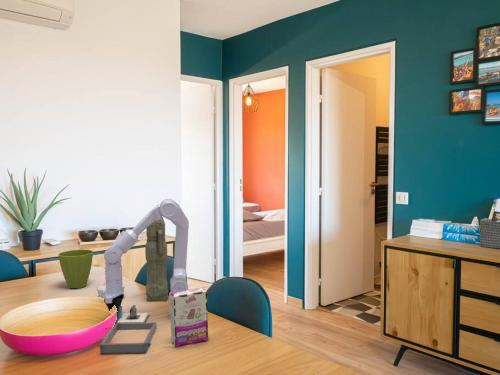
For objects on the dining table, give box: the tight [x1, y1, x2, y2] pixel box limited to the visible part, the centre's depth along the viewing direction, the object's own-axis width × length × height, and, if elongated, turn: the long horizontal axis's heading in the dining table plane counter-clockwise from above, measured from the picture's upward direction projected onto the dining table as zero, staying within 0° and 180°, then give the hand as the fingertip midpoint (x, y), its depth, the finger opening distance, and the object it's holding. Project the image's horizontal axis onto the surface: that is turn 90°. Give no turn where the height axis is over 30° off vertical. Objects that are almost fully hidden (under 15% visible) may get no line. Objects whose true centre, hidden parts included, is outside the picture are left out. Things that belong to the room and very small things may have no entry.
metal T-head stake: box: [129, 304, 138, 320], centre depth 153 cm, size 2×4×5 cm, turn 2°
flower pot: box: [57, 249, 94, 289], centre depth 198 cm, size 15×15×16 cm
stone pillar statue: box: [144, 216, 169, 303], centre depth 177 cm, size 9×12×35 cm
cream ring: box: [116, 305, 149, 323], centre depth 153 cm, size 12×9×5 cm
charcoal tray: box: [99, 321, 157, 355], centre depth 137 cm, size 14×17×3 cm
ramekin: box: [96, 283, 126, 299], centre depth 181 cm, size 11×11×5 cm
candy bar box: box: [169, 287, 209, 348], centre depth 137 cm, size 11×5×16 cm, turn 117°
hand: (114, 316), depth 153 cm, fingers closed
